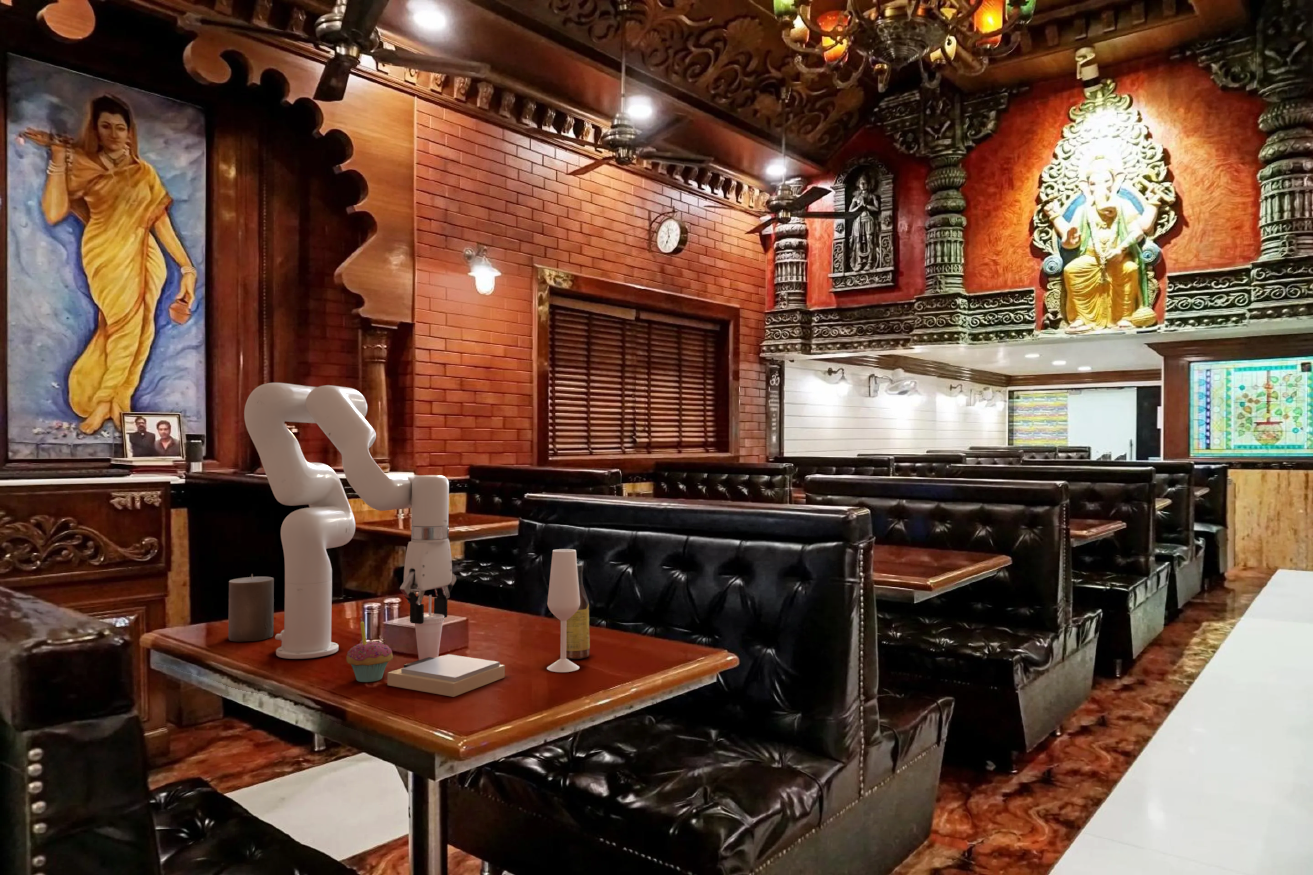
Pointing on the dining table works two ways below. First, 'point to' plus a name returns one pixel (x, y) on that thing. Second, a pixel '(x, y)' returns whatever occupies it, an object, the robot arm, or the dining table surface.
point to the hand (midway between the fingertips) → (428, 619)
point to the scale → (446, 674)
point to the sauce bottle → (578, 626)
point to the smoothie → (429, 634)
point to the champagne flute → (563, 599)
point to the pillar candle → (251, 609)
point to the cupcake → (369, 659)
